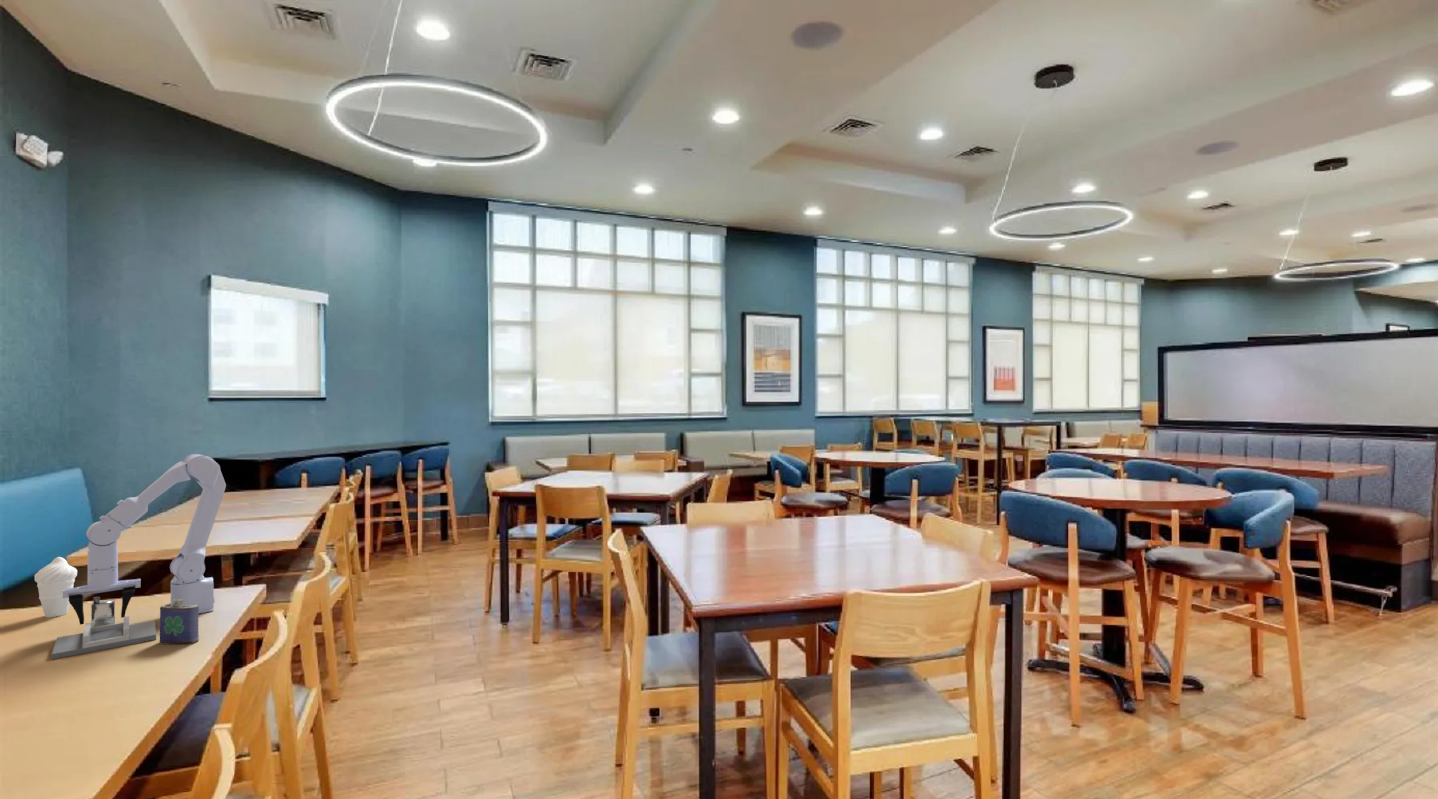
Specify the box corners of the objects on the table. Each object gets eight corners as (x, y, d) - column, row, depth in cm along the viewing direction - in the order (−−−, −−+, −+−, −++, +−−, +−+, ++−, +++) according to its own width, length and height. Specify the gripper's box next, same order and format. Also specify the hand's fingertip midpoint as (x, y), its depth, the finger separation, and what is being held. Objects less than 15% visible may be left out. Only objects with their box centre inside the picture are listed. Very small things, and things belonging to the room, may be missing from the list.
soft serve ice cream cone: (54, 620, 173) (54, 561, 173) (24, 620, 173) (24, 561, 173) (86, 610, 181) (86, 553, 181) (57, 609, 181) (57, 553, 181)
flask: (201, 640, 158) (201, 597, 158) (191, 645, 155) (191, 600, 155) (165, 639, 158) (165, 596, 158) (154, 644, 156) (154, 600, 156)
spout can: (115, 624, 169) (114, 592, 169) (114, 629, 166) (114, 596, 166) (91, 629, 166) (91, 596, 166) (90, 633, 163) (90, 600, 163)
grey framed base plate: (154, 624, 169) (154, 610, 169) (156, 639, 159) (156, 624, 159) (57, 642, 157) (57, 627, 157) (51, 659, 146) (51, 643, 146)
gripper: (140, 560, 174) (140, 610, 174) (64, 569, 164) (64, 622, 164) (140, 565, 168) (140, 616, 168) (62, 575, 159) (61, 629, 159)
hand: (102, 620), depth 166 cm, fingers open, 7 cm apart
